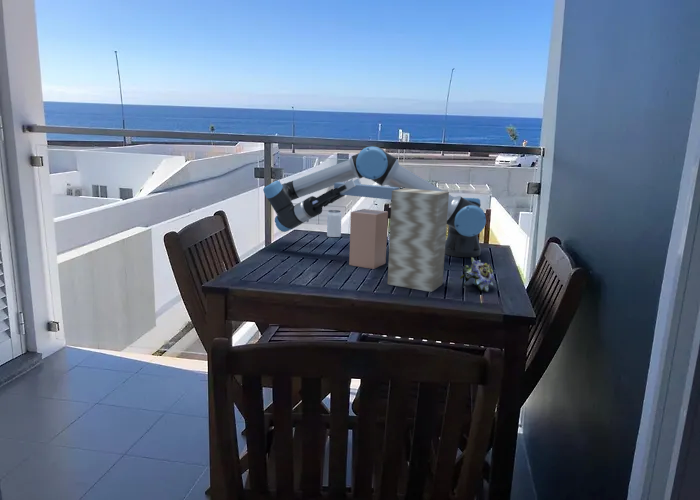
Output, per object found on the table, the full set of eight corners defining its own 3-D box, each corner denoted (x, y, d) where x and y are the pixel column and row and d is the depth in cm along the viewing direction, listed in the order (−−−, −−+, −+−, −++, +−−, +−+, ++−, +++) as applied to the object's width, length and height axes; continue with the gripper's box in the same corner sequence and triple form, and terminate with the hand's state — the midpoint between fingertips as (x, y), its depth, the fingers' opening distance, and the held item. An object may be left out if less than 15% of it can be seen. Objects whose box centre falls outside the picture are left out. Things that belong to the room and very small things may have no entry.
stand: (387, 284, 168) (391, 190, 162) (399, 277, 177) (404, 188, 171) (431, 291, 162) (438, 194, 155) (442, 284, 170) (449, 191, 164)
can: (341, 235, 246) (342, 210, 243) (340, 238, 240) (340, 212, 237) (327, 235, 247) (328, 209, 244) (325, 237, 240) (326, 211, 238)
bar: (333, 193, 193) (334, 183, 192) (339, 193, 196) (339, 182, 195) (393, 199, 182) (394, 188, 181) (398, 198, 185) (399, 187, 184)
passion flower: (483, 307, 166) (483, 283, 157) (452, 294, 171) (451, 271, 162) (499, 282, 171) (500, 258, 162) (469, 271, 176) (468, 246, 168)
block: (349, 265, 191) (350, 212, 187) (361, 259, 200) (363, 208, 196) (373, 269, 187) (376, 214, 183) (385, 263, 196) (387, 211, 191)
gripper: (324, 215, 209) (371, 189, 197) (300, 220, 194) (349, 193, 182) (316, 197, 209) (363, 171, 197) (292, 202, 194) (340, 174, 182)
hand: (356, 182), depth 190 cm, fingers closed on bar, 4 cm apart
